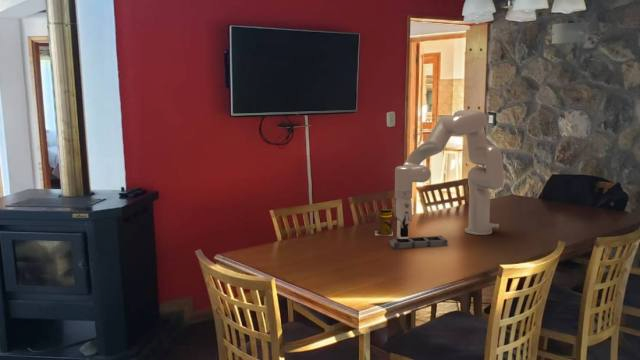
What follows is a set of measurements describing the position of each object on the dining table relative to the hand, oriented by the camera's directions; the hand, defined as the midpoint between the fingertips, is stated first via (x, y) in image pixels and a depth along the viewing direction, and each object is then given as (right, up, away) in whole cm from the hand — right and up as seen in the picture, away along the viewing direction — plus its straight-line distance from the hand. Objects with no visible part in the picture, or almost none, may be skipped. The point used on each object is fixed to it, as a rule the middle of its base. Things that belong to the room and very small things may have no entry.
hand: (402, 234), depth 249 cm
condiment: (-6, -2, +22) cm, 23 cm away
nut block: (0, -1, 0) cm, 1 cm away
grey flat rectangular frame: (+7, -5, +2) cm, 9 cm away
